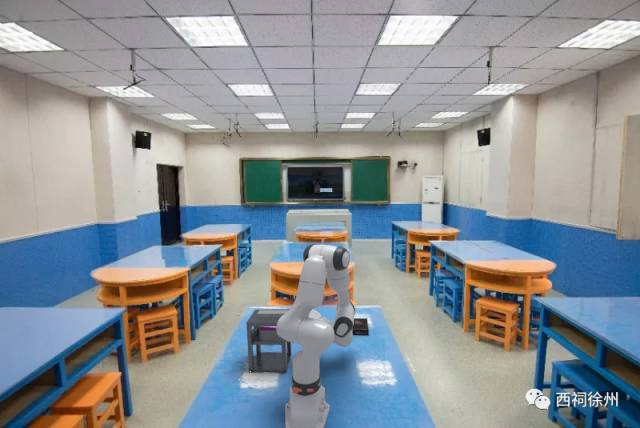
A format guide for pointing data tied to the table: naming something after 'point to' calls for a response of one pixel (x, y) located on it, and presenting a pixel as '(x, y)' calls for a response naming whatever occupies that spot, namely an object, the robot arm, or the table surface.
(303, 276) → the robot arm
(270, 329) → the mounting bracket
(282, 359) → the rack
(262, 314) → the strip
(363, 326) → the portable cd player
